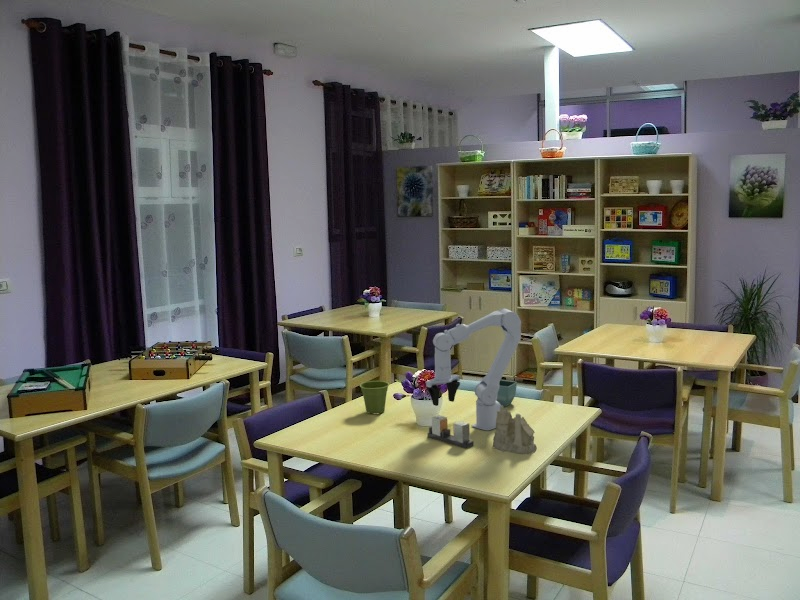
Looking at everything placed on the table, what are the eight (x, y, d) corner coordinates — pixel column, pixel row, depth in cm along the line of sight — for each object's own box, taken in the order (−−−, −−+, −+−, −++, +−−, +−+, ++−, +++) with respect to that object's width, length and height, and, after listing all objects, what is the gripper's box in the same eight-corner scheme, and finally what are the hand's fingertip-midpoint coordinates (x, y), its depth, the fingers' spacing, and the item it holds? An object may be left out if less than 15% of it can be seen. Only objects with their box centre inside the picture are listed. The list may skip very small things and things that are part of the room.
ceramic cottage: (526, 456, 231) (526, 410, 230) (483, 448, 241) (482, 404, 240) (549, 446, 243) (549, 402, 242) (507, 439, 253) (507, 396, 252)
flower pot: (517, 403, 293) (517, 381, 291) (508, 408, 285) (508, 386, 284) (497, 400, 297) (497, 379, 296) (488, 405, 290) (488, 384, 289)
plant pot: (356, 410, 288) (355, 383, 287) (382, 406, 293) (382, 379, 292) (367, 417, 278) (366, 389, 276) (394, 413, 283) (394, 385, 281)
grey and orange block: (439, 431, 254) (438, 415, 253) (448, 434, 250) (447, 417, 250) (432, 433, 251) (431, 417, 251) (441, 436, 248) (440, 419, 247)
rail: (427, 436, 253) (427, 416, 252) (435, 434, 256) (435, 413, 255) (465, 448, 240) (465, 426, 239) (473, 445, 242) (473, 424, 241)
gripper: (434, 371, 250) (435, 409, 252) (465, 365, 259) (465, 401, 261) (421, 368, 256) (422, 405, 257) (452, 362, 264) (452, 397, 266)
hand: (443, 403), depth 259 cm, fingers open, 7 cm apart
